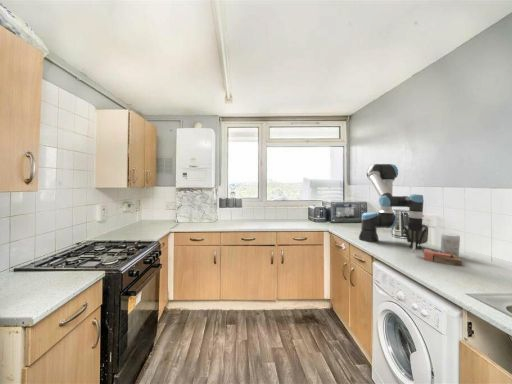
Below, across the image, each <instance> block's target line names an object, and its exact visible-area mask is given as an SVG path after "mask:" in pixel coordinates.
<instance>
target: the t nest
mask: <svg viewBox="0 0 512 384" xmlns="http://www.w3.org/2000/svg"><path fill="white" fill-rule="evenodd" d="M432 252H435V251H433V250H432ZM437 252H438V253H441V251H437ZM445 254H448V253H445ZM450 255H451V258H449V257H443V256H436V255H434V257H433V262H434V263H441V264H446V265H452V266H460V267H462V265H463V264H462V263H463V261H462V259H461V257H460V255H459V256H458V255H455V254H450Z"/></svg>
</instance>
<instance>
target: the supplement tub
mask: <svg viewBox="0 0 512 384" xmlns="http://www.w3.org/2000/svg"><path fill="white" fill-rule="evenodd" d="M440 237H441V239H440V240H441V242H440V252H441V253H448V254H455V255H458V256H459V257H460V246H461V245H460V244H461V243H460V242H461V240H460V239H461V238H460V237H461V236H460V235H459V234H456V233H451V232H450V233H449V232H442V233H441V236H440Z"/></svg>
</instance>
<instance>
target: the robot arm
mask: <svg viewBox="0 0 512 384" xmlns="http://www.w3.org/2000/svg"><path fill="white" fill-rule="evenodd" d="M366 176H367V179H368V180H369V181H370V182H371V184H372V185H373V186H374V189H375V190H376V192H377V194H378V196H379V199H378V203H379V206H380V207H379V208H380V210H378V212H376V211H375V212H374V211H370V212H369V211H368V212H367V211H366V212H363V213H362V215H361V217H360V218H361V230H360V233H359V235H358V239H359V240H361V241H364V242H368V243H375V242H376V243H377V242H379V241H380V240H379V235H378V233H377V230H378V229H392V228H395V227H396V225H397V223H398V218H397V215H396V214H395V212H394V211H393V208H397V207H398V208H404V207H405V208H408V223H407V225H405V226H403V230H405V234H406V240H407V239H408V241H410V242H409V243H410V245H411V248H412V251H411V252H412V253H415V254H416V248H419V244H418V243H421V241H422V238H423V236H424V233H425V232H426V231H427V229H426V228H424V227H423V226H422V224H423V213H424V212H423V211H424V202H425V201H424V195H423V194H410V195H409V196H407V195H402V196H396V195H393V185H394V184H393V183H394V181H395V179H396V178H398V177H399V169H398V167H397V165H395V164H394V163H393V164H392V163H391V164H390V163H374V164H373V165H370V166H369V167H368V168H367V170H366ZM408 227H409V228H410V230H411V239H410V238H409V233H408ZM421 229H422V233H421V236H420V239H419V240H418V231H420V230H421ZM414 231H416V242H413V235H414Z"/></svg>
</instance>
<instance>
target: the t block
mask: <svg viewBox="0 0 512 384" xmlns="http://www.w3.org/2000/svg"><path fill="white" fill-rule="evenodd" d="M432 251H433V250H432V249H429V248H424V249H423V256H424V258H423V259H424V261H428V262H434V260H433V257H434V255H436V256H443V257H449V258H451V255H450V254H445V253H438V252H439V251H434V252H432Z"/></svg>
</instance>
